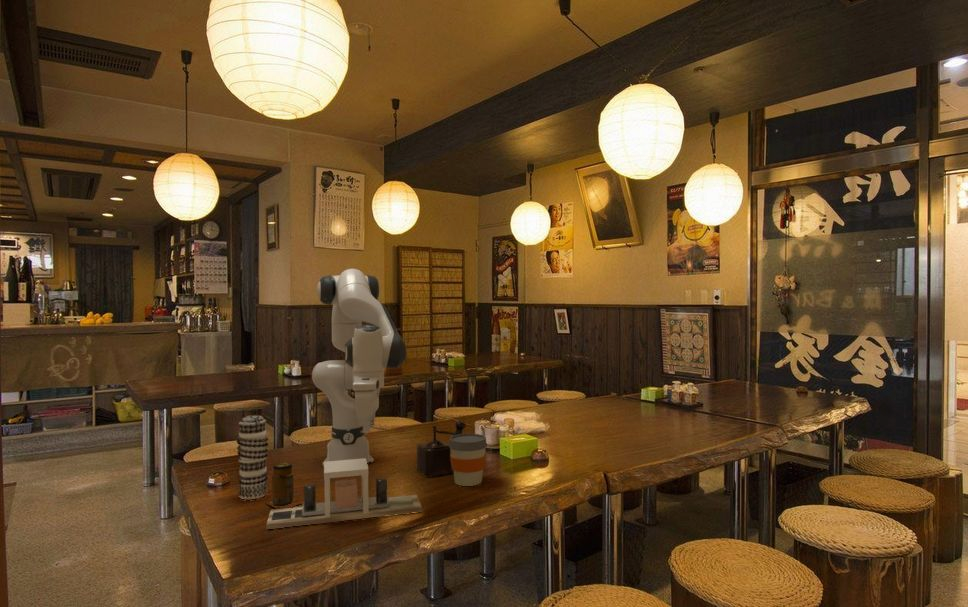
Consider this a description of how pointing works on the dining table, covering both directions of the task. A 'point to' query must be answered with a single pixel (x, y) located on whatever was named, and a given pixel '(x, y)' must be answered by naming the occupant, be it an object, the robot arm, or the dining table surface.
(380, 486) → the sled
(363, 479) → the tunnel
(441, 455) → the black coffee grinder
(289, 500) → the condiment
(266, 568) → the dining table surface
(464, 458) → the reusable coffee cup
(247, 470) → the round tower model
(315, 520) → the track
